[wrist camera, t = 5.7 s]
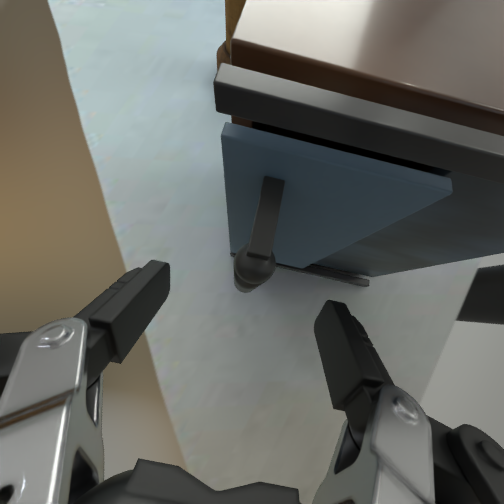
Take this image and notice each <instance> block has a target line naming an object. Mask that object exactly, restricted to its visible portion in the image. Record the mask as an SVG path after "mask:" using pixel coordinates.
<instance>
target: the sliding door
mask: <svg viewBox="0 0 504 504" xmlns="http://www.w3.org/2000/svg"><path fill="white" fill-rule="evenodd" d="M221 142H222V154H223V166H224V178H225V190H226V202H227V214H228V226H229V238H230V249H231V252H233V253H236V255H235V258H234V284H235V287H236V288H237V289H238V290H239V291H240V292H243V293H248V292H251V291H252V290H254V289H255V288H257V287H258V286H259V285H261V284H262V283H264V282H265V281H267V280H268V279H269V278H270V277H271V276H272V275H273V273H274V271H275V267H276V263H280V264H285V265H289V266H293V267H298V268H305V267H307V266H309V265H311V264H313V263H315V262H317V261H319V260H321V259H323V258H325V257H327V256H329V255H331V254H332V253H334V252H336V251H338V250H340V249H342V248H344V247H346V246H348V245H350V244H352V243H354V242H356V241H358V240H360V239H362V238H364V237H366V236H368V235H370V234H372V233H374V232H376V231H378V230H380V229H382V228H384V227H386V226H388V225H390V224H392V223H394V222H396V221H398V220H400V219H402V218H404V217H406V216H408V215H410V214H412V213H414V212H416V211H418V210H420V209H422V208H424V207H426V206H428V205H430V204H432V203H434V202H436V201H438V200H440V199H442V198H444V197H446V196H448V195H450V194H452V192H453V190H452V181H451V179H450V178H447V177H443V176H439V175H435V174H432V173H428V172H424V171H420V170H416V169H412V168H408V167H404V166H400V165H396V164H392V163H388V162H384V161H380V160H376V159H372V158H368V157H364V156H360V155H356V154H352V153H348V152H344V151H340V150H336V149H332V148H328V147H324V146H320V145H316V144H312V143H308V142H304V141H300V140H296V139H292V138H288V137H284V136H280V135H276V134H272V133H268V132H264V131H261V130H257V129H253V128H249V127H245V126H241V125H237V124H233V123H229V122H226V123H225V125H224V128H223V131H222V134H221Z"/></svg>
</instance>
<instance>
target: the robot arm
mask: <svg viewBox="0 0 504 504" xmlns="http://www.w3.org/2000/svg"><path fill="white" fill-rule="evenodd" d="M169 291H170V265H169V263H165V262H161V261H156V260H151V261H150V262H149V263H147V264H146V265H145V266H144V267H143V268H136V269H133V270H131V271H129V272H127V273H125V274H124V275H123V276H122V277H121V278H119V279H118V280H117V282H115V283H114V284H112V285H111V286H110V287H109V289H106V290H105V291H104V292H103V293H102V294H100V295H99V296H98V297H97V298H96V299H94V300H93V301H92V302H91V303H90V304H89V305H88V306H86V307H85V308H84V309H82V310H81V311H80V312H79V313H78V314H77V315H75V316H74V317H73V318H63V319H59V320H55V321H52V322H49V323H47V324H45V325H43V326H41V327H39V328H38V329H36V330H35V331H32V332H19V333H4V334H0V504H301V503H300V502H299V491H298V489H296V488H290V487H285V486H280V485H275V484H269V483H264V482H256V483H252V484H248V485H244V486H240V487H235V488H231V489H227V490H223V491H215V490H213V489H211V488H210V487H208V486H207V485H206V484H204V483H203V482H201V481H200V480H198V479H197V478H195V477H194V476H192V475H191V474H189V473H188V472H186V471H185V470H183V469H182V468H181V467H179V466H175V465H170V464H165V463H160V462H154V461H149V460H144V459H138V460H137V463H136V465H135V467H134V469H133V470H128V471H125V472H122V473H120V474H117V475H115V476H113V477H111V478H109V479H107V480H105V481H104V447H103V440H102V397H103V370H104V369H105V368H106V366H107V365H108V364H109V362H115V363H120V364H121V363H122V361H123V360H124V359H125V357H126V356H127V354H128V353H129V352H130V350H131V349H132V347H133V346H134V344H135V343H136V341H137V340H138V339H139V337H140V336H141V334H142V333H143V332H144V330H145V329H146V327H147V326H148V324H149V323H150V322H151V320H152V319H153V317H154V316H155V314H156V313H157V312H158V310H159V309H160V307H161V306H162V305H163V303H164V302H165V300H166V299H167V297H168V294H169ZM314 333H315V337H316V341H317V345H318V349H319V353H320V357H321V361H322V365H323V369H324V373H325V377H326V381H327V385H328V389H329V393H330V397H331V401H332V405H333V409H337V410H342V411H345V413H346V416H347V419H346V420H345V421H344V423H343V426H342V430H341V433H340V436H339V439H338V442H337V445H336V448H335V451H334V454H333V457H332V460H331V463H330V466H329V469H328V472H327V475H326V477H325V479H324V480H323V482H322V483H321V485H320V486H319V488H318V490H317V492H316V494H315V496H314V499H313V501H312V504H504V449H503V448H502V447H501V446H500V445H499V444H498V443H497V442H495V441H494V440H493V439H492V438H491V437H490V436H488V435H487V434H486V433H484V432H483V431H481V430H479V429H478V428H476V427H474V426H471V425H467V424H463V425H461V426H459V427H457V428H455V429H451V428H449V427H448V426H445V425H444V424H442V423H440V422H438V421H436V420H434V419H433V418H431V417H429V416H427V415H426V414H425V412H424V411H423V409H422V408H421V406H420V405H419V404H418V403H417V402H416V401H415V399H414V398H412V397H411V396H410V395H409V394H408V393H407V392H405V391H404V390H402V389H401V388H399V387H397V386H395V385H394V383H393V381H392V379H391V378H390V376H389V374H388V372H387V370H386V368H385V366H384V365H383V363H382V361H381V359H380V357H379V355H378V353H377V352H376V350H375V348H374V347H373V344H372V342H371V340H370V339H369V338H368V335H367V333H366V331H365V329H364V327H363V326H362V325H361V323H360V322H359V321H358V320H357V319H356V318H355V317H354V316H352V315H351V314H350V312H349V310H348V308H347V306H346V304H345V303H342V302H337V301H333V300H327V301H326V302H325V304H324V306H323V308H322V309H321V311H320V313H319V315H318V316H317V318H316V320H315V324H314Z"/></svg>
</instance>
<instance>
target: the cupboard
mask: <svg viewBox="0 0 504 504" xmlns="http://www.w3.org/2000/svg"><path fill="white" fill-rule="evenodd" d="M230 50H231V65H228V64H225V63H221V64H220V67H219V69H218V72H217V74H216V77H215V79H214V82H213V83H214V94H215V104H216V111H217V112H220V113H224V114H228V115H231V118H232V123H233V124H237V125H241V126H245V127H249V128H253V129H257V130H261V131H264V132H268V133H272V134H276V135H280V136H284V137H288V138H292V139H296V140H300V141H304V142H308V143H312V144H316V145H320V146H324V147H328V148H332V149H336V150H340V151H344V152H348V153H352V154H356V155H360V156H364V157H368V158H372V159H376V160H380V161H384V162H388V163H392V164H396V165H400V166H404V167H408V168H412V169H416V170H420V171H424V172H428V173H432V174H435V175H439V176H443V177H447V178H450V179H451V181H452V190H453V192H452V194H450V195H448V196H446V197H444V198H442V199H440V200H438V201H436V202H434V203H432V204H430V205H428V206H426V207H424V208H422V209H420V210H418V211H416V212H414V213H412V214H410V215H408V216H406V217H404V218H402V219H400V220H398V221H396V222H394V223H392V224H390V225H388V226H386V227H384V228H382V229H380V230H378V231H376V232H374V233H372V234H370V235H368V236H366V237H364V238H362V239H360V240H358V241H356V242H354V243H352V244H350V245H348V246H346V247H344V248H342V249H340V250H338V251H336V252H334V253H332V254H331V255H329V256H327V257H325V258H323V259H321V260H319V261H317V262H315V263H313V264H318V265H322V266H326V267H331V268H335V269H339V270H343V271H348V272H352V273H356V274H361V275H365V276H369V277H375V276H380V275H386V274H391V273H397V272H402V271H407V270H413V269H418V268H424V267H429V266H435V265H440V264H445V263H451V262H456V261H462V260H467V259H472V258H478V257H483V256H488V255H493V254H499V253H504V0H246V2H245V5H244V7H243V10H242V12H241V15H240V17H239V20H238V23H237V25H236V28H235V30H234V33H233V35H232V38H231V41H230ZM235 255H236V253H233V252H231V253H230V256H233V257H235ZM276 266H277V267H281V268H285V269H290V270H294V271H298V272H303V273H307V274H311V275H316V276H320V277H325V278H329V279H333V280H338V281H342V282H346V283H351V284H355V285H359V286H364V287H367V286H369V280H367V279H363V278H359V277H354V276H350V275H346V274H341V273H337V272H333V271H328V270H324V269H320V268H315V267H311V266H307V267H305V268H298V267H293V266H289V265H285V264H280V263H276Z"/></svg>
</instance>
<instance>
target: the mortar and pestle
mask: <svg viewBox="0 0 504 504" xmlns="http://www.w3.org/2000/svg"><path fill="white" fill-rule="evenodd" d="M245 2H246V0H225V16H226V41H225V42H224V43H223V44H222V45H221V46H220V47H219V48H218V51H217V71H218V69H219V67H220V64H221V63H225V64H228V65H231V50H230V41H231V38H232V35H233V33H234V30H235V28H236V25H237V23H238V20H239V17H240V15H241V12H242V10H243V7H244V5H245Z"/></svg>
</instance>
